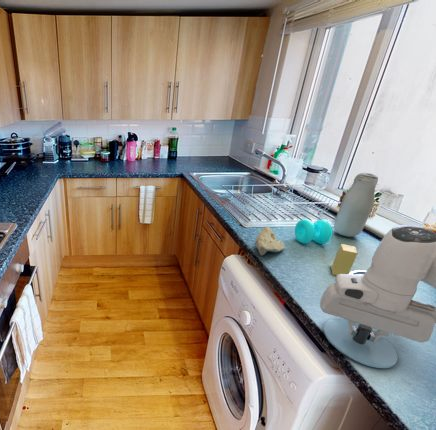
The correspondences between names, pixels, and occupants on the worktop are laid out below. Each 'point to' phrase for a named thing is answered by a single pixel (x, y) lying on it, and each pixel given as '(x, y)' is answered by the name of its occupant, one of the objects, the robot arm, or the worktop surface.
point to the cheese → (268, 241)
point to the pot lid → (360, 344)
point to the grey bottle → (356, 205)
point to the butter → (344, 259)
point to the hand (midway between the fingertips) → (360, 336)
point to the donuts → (313, 231)
